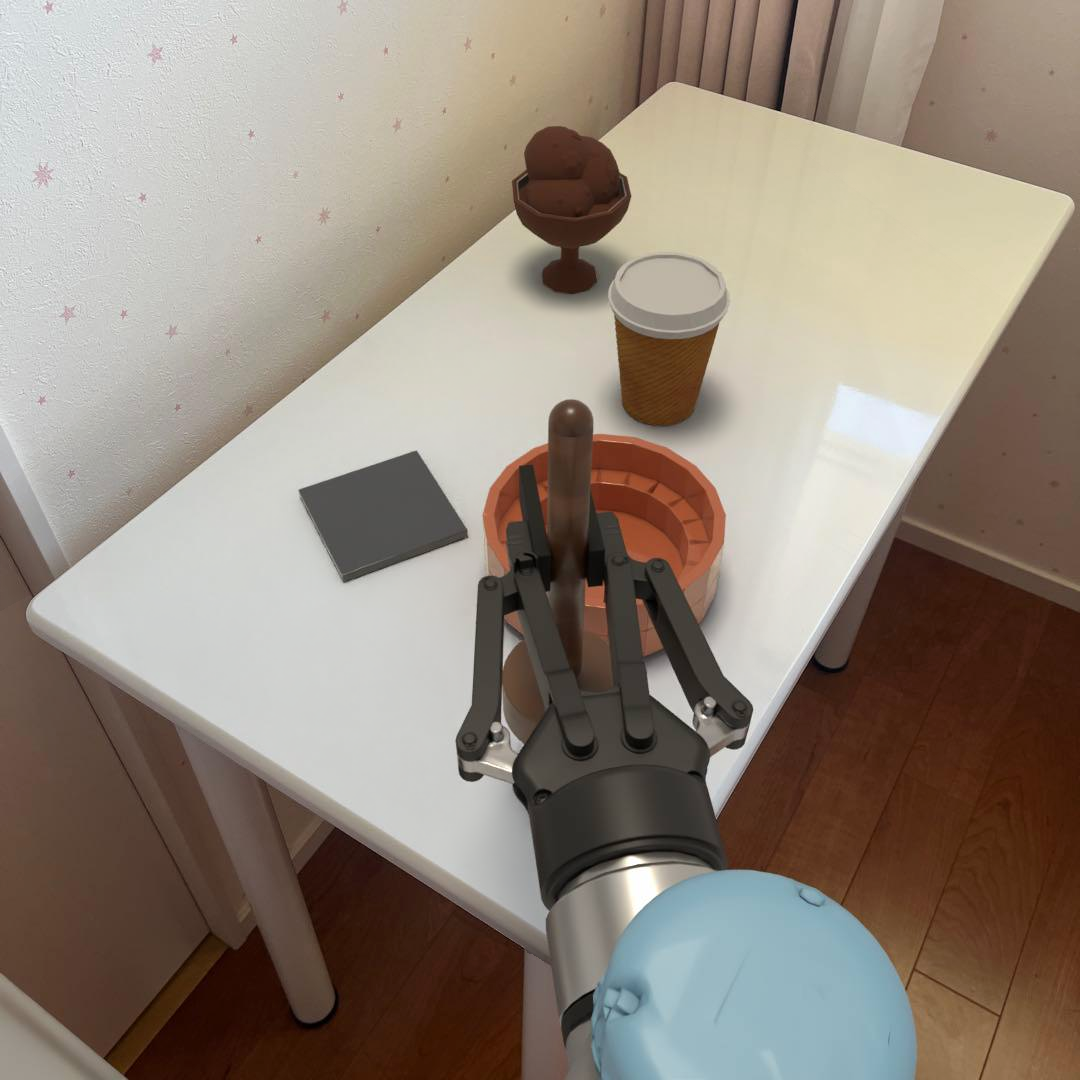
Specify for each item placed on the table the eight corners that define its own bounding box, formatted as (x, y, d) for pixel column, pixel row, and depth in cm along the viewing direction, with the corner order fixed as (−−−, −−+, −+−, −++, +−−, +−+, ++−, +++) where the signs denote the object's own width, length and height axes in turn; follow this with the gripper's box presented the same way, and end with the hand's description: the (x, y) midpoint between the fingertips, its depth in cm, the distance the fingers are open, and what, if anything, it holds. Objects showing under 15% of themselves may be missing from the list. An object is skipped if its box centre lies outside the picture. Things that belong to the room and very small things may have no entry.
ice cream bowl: (565, 324, 102) (567, 174, 91) (491, 272, 108) (484, 125, 97) (648, 282, 106) (660, 134, 95) (573, 234, 112) (576, 89, 101)
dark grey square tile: (343, 582, 80) (342, 575, 80) (299, 496, 87) (297, 489, 86) (468, 536, 84) (467, 529, 83) (417, 457, 90) (416, 449, 89)
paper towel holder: (536, 775, 62) (536, 479, 45) (483, 684, 66) (464, 382, 49) (644, 727, 64) (682, 428, 47) (586, 641, 68) (602, 338, 51)
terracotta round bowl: (552, 703, 73) (552, 643, 68) (451, 540, 83) (445, 477, 79) (759, 614, 78) (773, 553, 74) (640, 471, 88) (646, 408, 84)
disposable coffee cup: (720, 439, 91) (739, 318, 82) (604, 439, 91) (611, 318, 82) (708, 367, 97) (724, 248, 89) (600, 367, 98) (606, 248, 89)
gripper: (451, 960, 45) (415, 542, 61) (806, 912, 47) (681, 516, 63) (439, 877, 40) (403, 441, 56) (842, 825, 41) (695, 415, 57)
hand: (551, 481), depth 59 cm, fingers closed on paper towel holder, 2 cm apart
